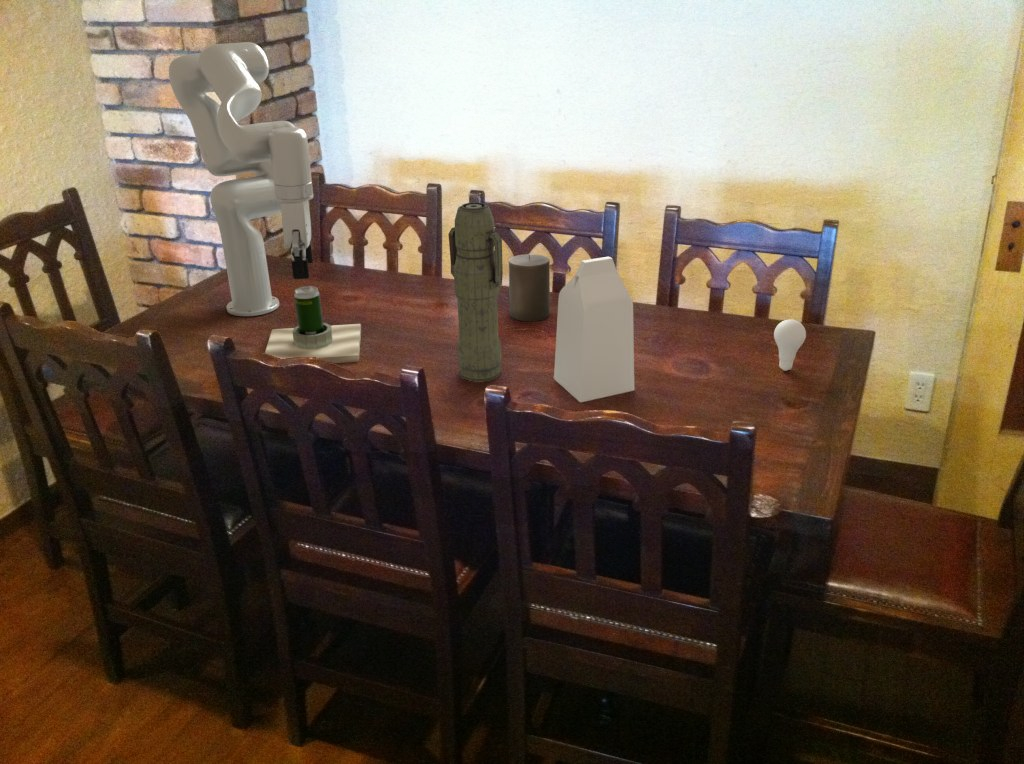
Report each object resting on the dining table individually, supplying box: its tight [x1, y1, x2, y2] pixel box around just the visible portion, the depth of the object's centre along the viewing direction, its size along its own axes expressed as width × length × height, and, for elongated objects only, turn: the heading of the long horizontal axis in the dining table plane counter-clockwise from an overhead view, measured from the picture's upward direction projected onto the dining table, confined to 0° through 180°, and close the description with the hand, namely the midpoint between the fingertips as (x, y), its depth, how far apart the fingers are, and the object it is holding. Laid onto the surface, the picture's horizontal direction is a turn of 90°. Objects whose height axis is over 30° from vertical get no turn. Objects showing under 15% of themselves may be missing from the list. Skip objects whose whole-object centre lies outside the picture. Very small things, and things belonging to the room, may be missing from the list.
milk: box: [553, 256, 635, 403], centre depth 167 cm, size 12×12×26 cm
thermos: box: [448, 202, 504, 383], centre depth 170 cm, size 9×12×35 cm
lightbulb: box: [773, 318, 807, 372], centre depth 174 cm, size 6×6×11 cm
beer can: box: [293, 285, 324, 335], centre depth 188 cm, size 5×5×12 cm
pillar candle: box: [508, 253, 551, 322], centre depth 204 cm, size 10×10×15 cm
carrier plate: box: [264, 322, 362, 364], centre depth 190 cm, size 18×20×4 cm
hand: (303, 270), depth 184 cm, fingers open, 9 cm apart
